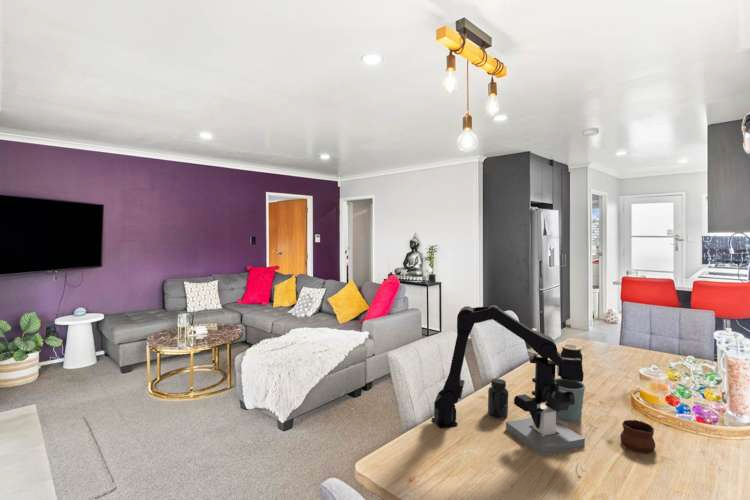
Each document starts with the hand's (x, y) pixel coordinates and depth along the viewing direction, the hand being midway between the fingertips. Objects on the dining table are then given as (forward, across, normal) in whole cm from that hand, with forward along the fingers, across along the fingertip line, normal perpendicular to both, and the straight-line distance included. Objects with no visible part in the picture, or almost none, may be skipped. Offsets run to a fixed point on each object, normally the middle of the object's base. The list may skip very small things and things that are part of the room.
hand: (543, 426), depth 123 cm
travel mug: (+4, +38, +28) cm, 47 cm away
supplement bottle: (+4, -4, +18) cm, 19 cm away
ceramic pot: (+4, +24, -13) cm, 27 cm away
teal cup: (+4, +18, +9) cm, 21 cm away
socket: (+4, 0, 0) cm, 4 cm away
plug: (+1, 0, 0) cm, 1 cm away
